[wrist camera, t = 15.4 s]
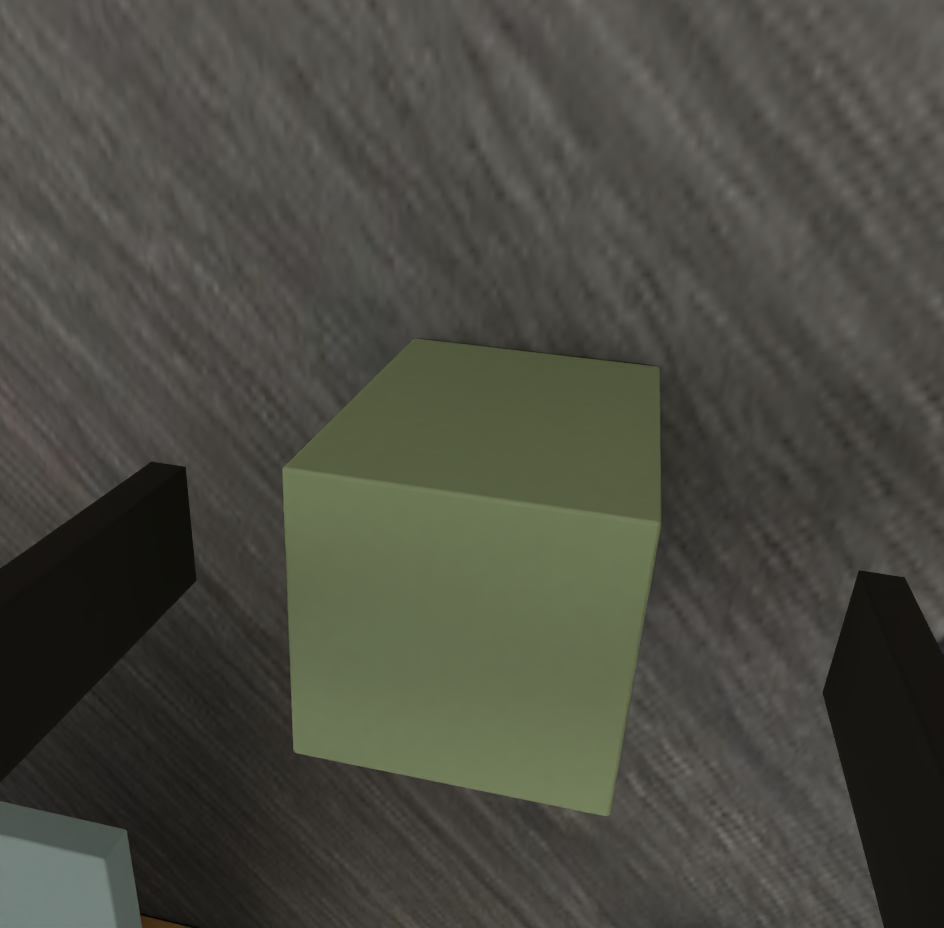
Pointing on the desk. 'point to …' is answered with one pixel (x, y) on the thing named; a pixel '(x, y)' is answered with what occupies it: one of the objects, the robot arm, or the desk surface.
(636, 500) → the block
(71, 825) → the slide top
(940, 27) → the desk surface
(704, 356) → the desk surface
